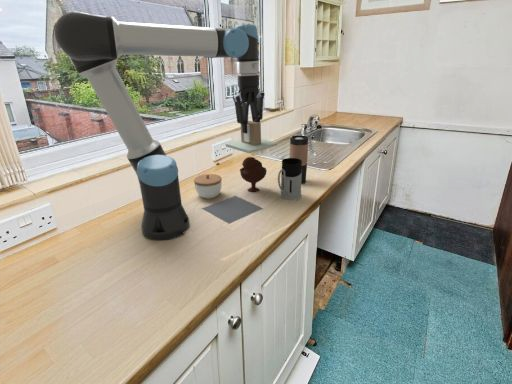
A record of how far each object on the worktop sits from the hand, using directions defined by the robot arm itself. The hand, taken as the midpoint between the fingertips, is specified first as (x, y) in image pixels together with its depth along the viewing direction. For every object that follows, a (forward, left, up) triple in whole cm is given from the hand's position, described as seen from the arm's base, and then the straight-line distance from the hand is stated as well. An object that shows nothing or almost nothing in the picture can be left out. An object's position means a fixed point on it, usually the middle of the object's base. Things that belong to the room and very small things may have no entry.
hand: (250, 140), depth 120 cm
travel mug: (+23, -4, -22) cm, 33 cm away
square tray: (-15, -6, -22) cm, 27 cm away
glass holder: (+6, -14, -22) cm, 27 cm away
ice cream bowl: (+2, +1, -22) cm, 23 cm away
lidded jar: (-14, +10, -22) cm, 28 cm away
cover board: (0, 0, -2) cm, 2 cm away
